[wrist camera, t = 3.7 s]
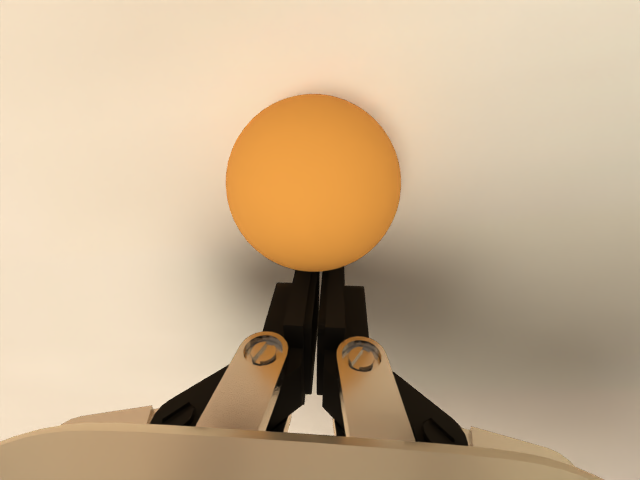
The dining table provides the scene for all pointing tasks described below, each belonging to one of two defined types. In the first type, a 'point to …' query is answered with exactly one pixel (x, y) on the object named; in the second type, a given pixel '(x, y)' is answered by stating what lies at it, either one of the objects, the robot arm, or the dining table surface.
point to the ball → (313, 182)
